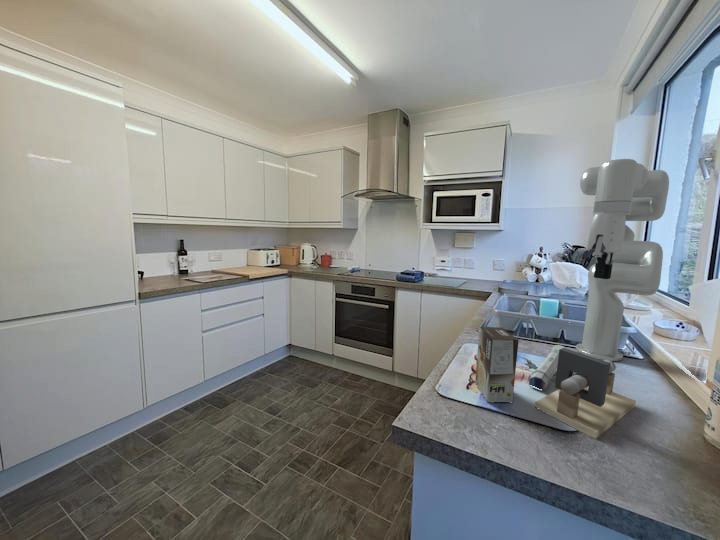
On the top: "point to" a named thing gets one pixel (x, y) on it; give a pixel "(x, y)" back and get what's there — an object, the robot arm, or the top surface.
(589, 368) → the collar
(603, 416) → the pipe rig
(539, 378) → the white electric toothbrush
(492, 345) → the coffee box
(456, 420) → the top surface
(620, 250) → the robot arm
